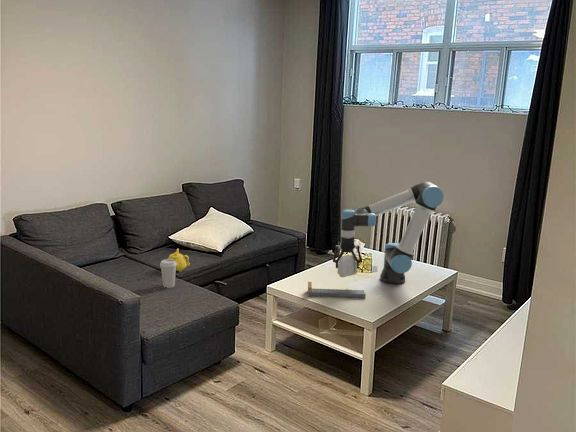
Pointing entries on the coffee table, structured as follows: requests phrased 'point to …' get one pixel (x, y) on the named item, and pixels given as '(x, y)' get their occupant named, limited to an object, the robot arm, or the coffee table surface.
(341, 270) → the photo printer
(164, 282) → the coffee cup
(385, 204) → the robot arm
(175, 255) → the teapot
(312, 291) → the rail
